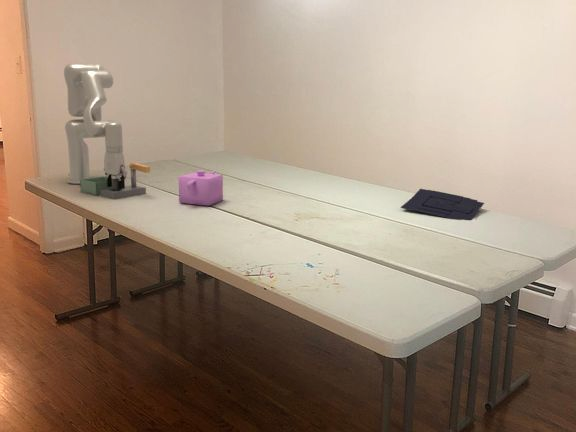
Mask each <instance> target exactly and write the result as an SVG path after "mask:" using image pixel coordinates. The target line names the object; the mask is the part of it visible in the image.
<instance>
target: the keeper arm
mask: <svg viewBox="0 0 576 432" xmlns="http://www.w3.org/2000/svg"><path fill="white" fill-rule="evenodd" d="M129 169H130V170H131V169H135V170H136V171H138V172H142V173H151V167H150V166H148V165H144V164H140V163H137V162H129Z"/></svg>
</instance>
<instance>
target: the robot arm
mask: <svg viewBox="0 0 576 432" xmlns="http://www.w3.org/2000/svg"><path fill="white" fill-rule="evenodd" d="M63 76H64V81H65V83H66V87H67V88H66V89H67V110H68V114H69V115H70V116H71V117H76V118H75V119H74V118H73V119H70V120H68V121H67V122H66V123H65V124H64V125H65V126H64V130H65V134H66V140H67V144H68V145H67V146H68V147H67V148H68V161H69V173H68V174H67V176H68V177H69V178H68V179H67V180H66V181H67V183H68V184H75V185H76V184H77V185H78V184H79V185H80V180H81V179H88V178H91V173H90V156H89V155H90V154H89V153H90V152H89V146H88V144H87V142H86V141H85V140H84V139H91V138H92V139H94V138H104V143H105V153H104V162H103V163H104V164H103V165H104V166H103V171H104V174H105V177H106V178H107V187H112V177H111V175H117V176H118V179H119V181H118V189H124V188H125V186H126V183H125V181H126V178H127V175H128V171H127V170H126V163H125V156H124V148H123V147H124V146H123V145H124V144H123V129H122V128H123V127H122V123H121V122H117V121H115V120H102V106H104V105H105V104H106V103H107V101H108V100H107V96H106V92H105V90H104V89H110V88H112V87H113V84H114V78H113V77H114V76H113V75H112V73H111V72H110V70H109V69H108V68H106V67H104V66H103V65H101V64H99V63H89V62H87V63H84V62H83V63H82V62H77V63H76V62H75V63H73V62H72V63H69V64H67V65H65V67H64V70H63ZM79 117H80V118H79ZM81 117H82V118H81Z"/></svg>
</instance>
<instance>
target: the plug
mask: <svg viewBox="0 0 576 432" xmlns="http://www.w3.org/2000/svg"><path fill="white" fill-rule="evenodd" d="M111 177H112V191H120V189H118V181H119V179H118V176H117V175H111Z"/></svg>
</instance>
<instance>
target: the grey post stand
mask: <svg viewBox="0 0 576 432" xmlns="http://www.w3.org/2000/svg"><path fill="white" fill-rule="evenodd" d="M130 183H131V184H130V185H125V188H124V189H120V191H112V188H110V189H103V190H101V195H100V197H102V198H106V199H110V200H117V199H119V200H120V199H122V198H123V199H124V198H130V197H135V196H141V195H147V192H146V191H147V188H146V187H145V186H140V185H137V170H135V169H130Z"/></svg>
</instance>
